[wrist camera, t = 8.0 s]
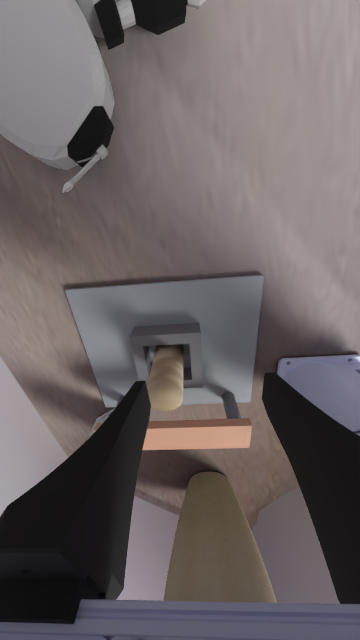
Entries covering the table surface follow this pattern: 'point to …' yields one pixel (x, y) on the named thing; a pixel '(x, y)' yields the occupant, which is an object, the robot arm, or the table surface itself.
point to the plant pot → (215, 548)
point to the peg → (166, 378)
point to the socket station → (177, 328)
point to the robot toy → (67, 73)
